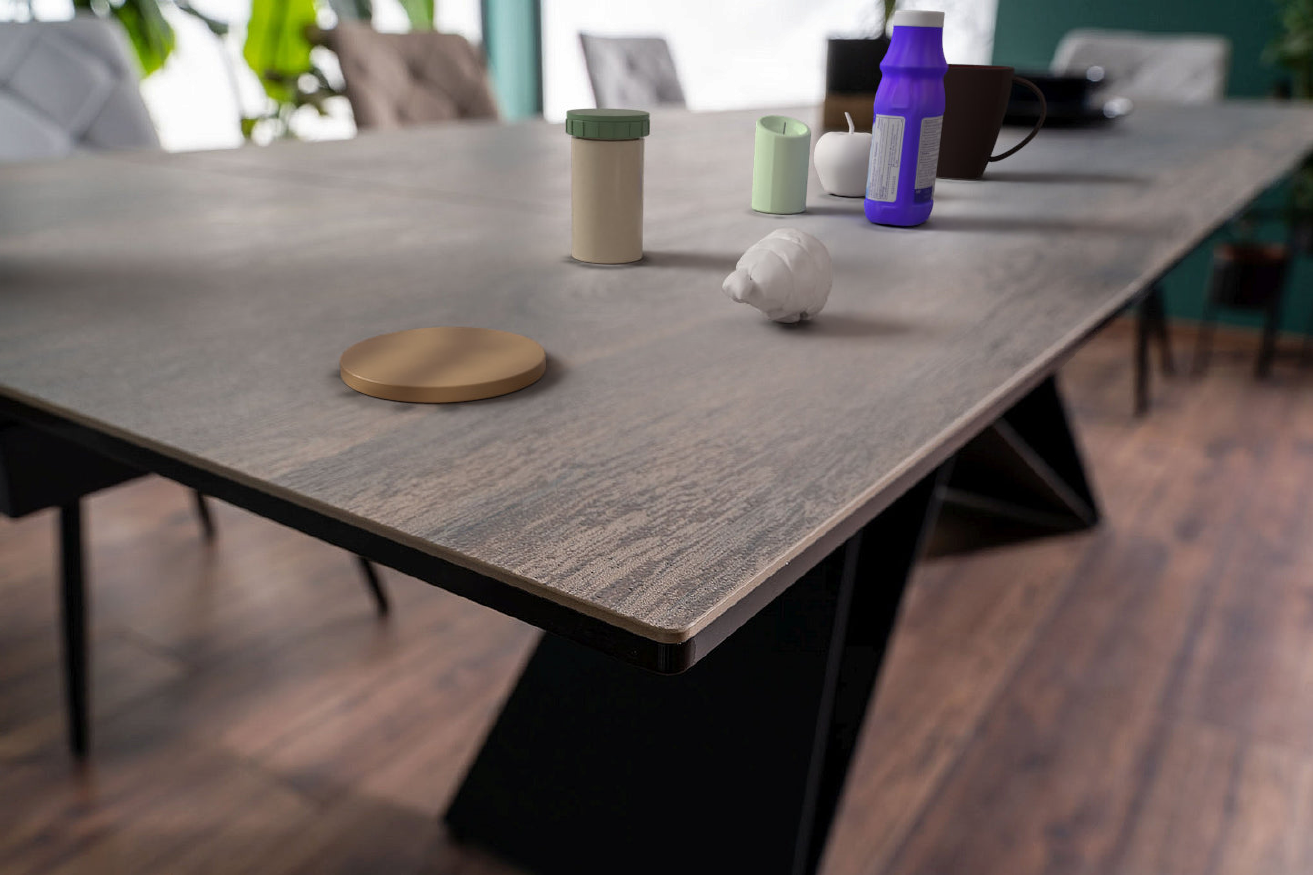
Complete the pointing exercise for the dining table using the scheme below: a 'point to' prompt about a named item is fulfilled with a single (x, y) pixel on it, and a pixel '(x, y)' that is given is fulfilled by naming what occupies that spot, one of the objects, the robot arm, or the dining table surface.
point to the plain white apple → (843, 161)
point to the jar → (607, 199)
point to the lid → (608, 123)
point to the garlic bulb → (783, 276)
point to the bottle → (907, 121)
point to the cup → (977, 118)
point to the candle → (780, 165)
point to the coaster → (442, 364)
